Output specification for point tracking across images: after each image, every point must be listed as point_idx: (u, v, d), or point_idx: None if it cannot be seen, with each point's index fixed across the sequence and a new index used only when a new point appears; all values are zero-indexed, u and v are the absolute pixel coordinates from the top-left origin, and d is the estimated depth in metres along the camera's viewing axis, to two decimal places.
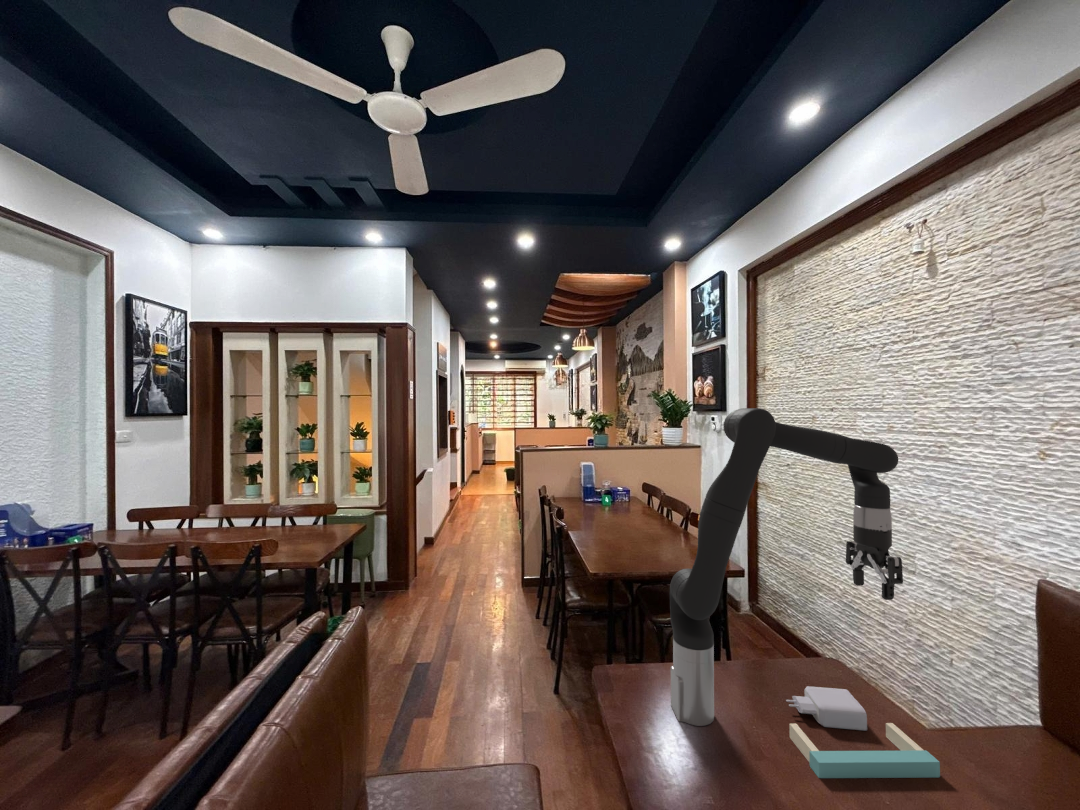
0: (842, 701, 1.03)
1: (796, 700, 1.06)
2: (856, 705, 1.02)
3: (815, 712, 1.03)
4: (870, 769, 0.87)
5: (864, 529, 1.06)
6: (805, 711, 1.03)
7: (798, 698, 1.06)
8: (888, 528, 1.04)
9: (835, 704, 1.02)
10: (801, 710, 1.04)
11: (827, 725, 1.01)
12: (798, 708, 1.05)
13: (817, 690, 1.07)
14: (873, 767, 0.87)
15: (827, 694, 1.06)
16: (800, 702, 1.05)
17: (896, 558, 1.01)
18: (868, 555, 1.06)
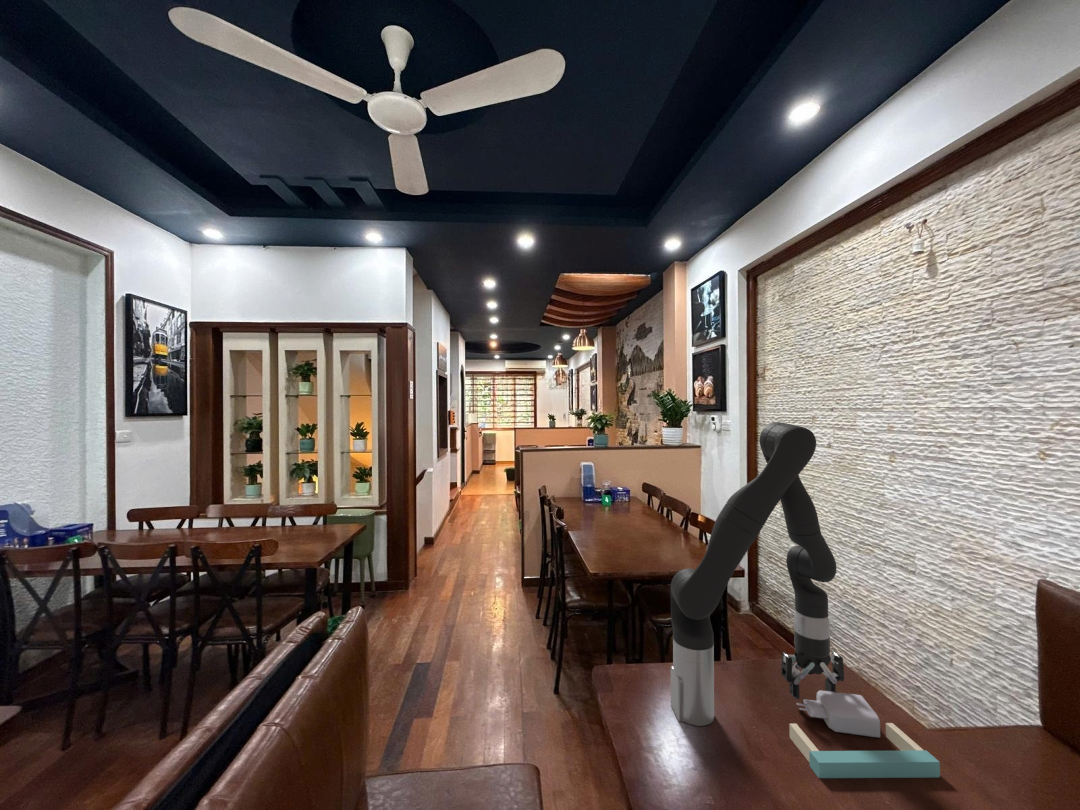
0: (855, 706, 1.01)
1: (807, 704, 1.05)
2: (869, 711, 1.00)
3: (826, 716, 1.01)
4: (870, 769, 0.87)
5: (827, 640, 1.06)
6: (815, 715, 1.02)
7: (809, 702, 1.05)
8: None
9: (847, 710, 1.00)
10: (811, 713, 1.02)
11: (838, 730, 0.99)
12: (809, 712, 1.04)
13: (829, 694, 1.06)
14: (873, 767, 0.87)
15: (839, 698, 1.04)
16: (811, 706, 1.03)
17: (838, 654, 1.09)
18: (821, 663, 1.07)
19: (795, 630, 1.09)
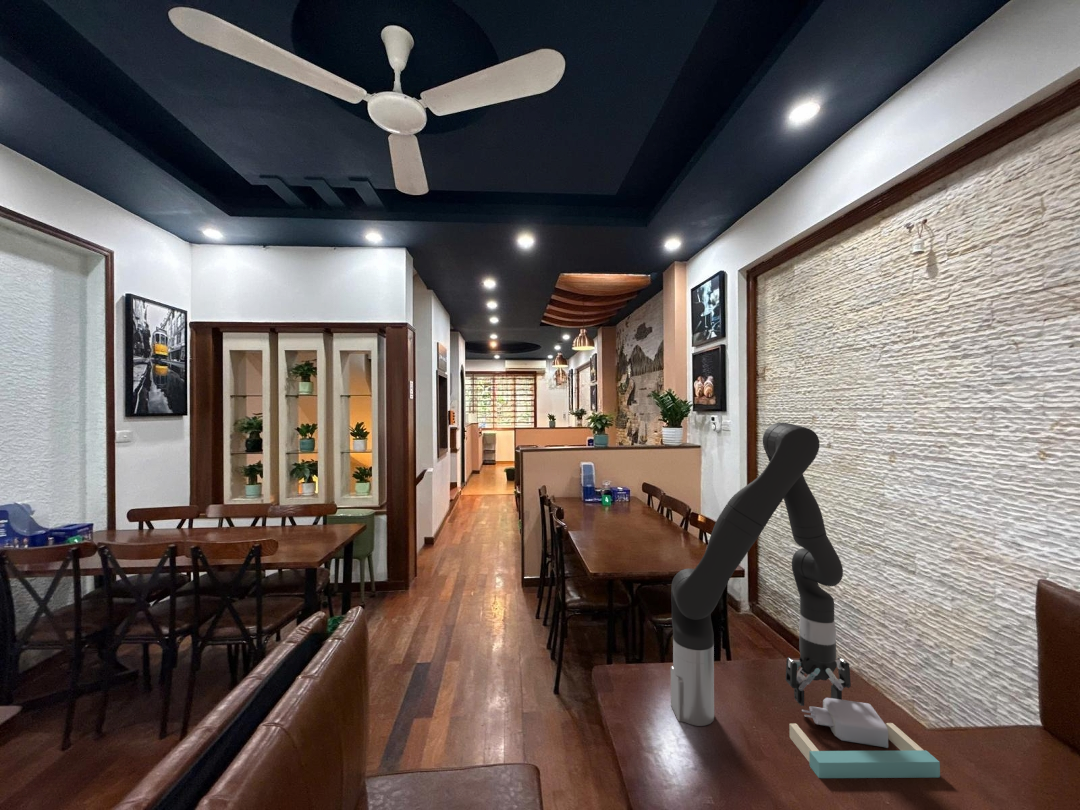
0: (862, 715, 0.99)
1: (812, 711, 1.03)
2: (877, 720, 0.97)
3: (832, 724, 0.99)
4: (870, 769, 0.87)
5: (833, 645, 1.03)
6: (821, 722, 0.99)
7: (815, 709, 1.03)
8: None
9: (853, 718, 0.98)
10: (816, 721, 1.00)
11: (844, 739, 0.97)
12: (814, 719, 1.02)
13: (836, 702, 1.03)
14: (873, 767, 0.87)
15: (847, 706, 1.01)
16: (816, 713, 1.01)
17: (844, 660, 1.07)
18: (827, 669, 1.04)
19: (800, 635, 1.07)
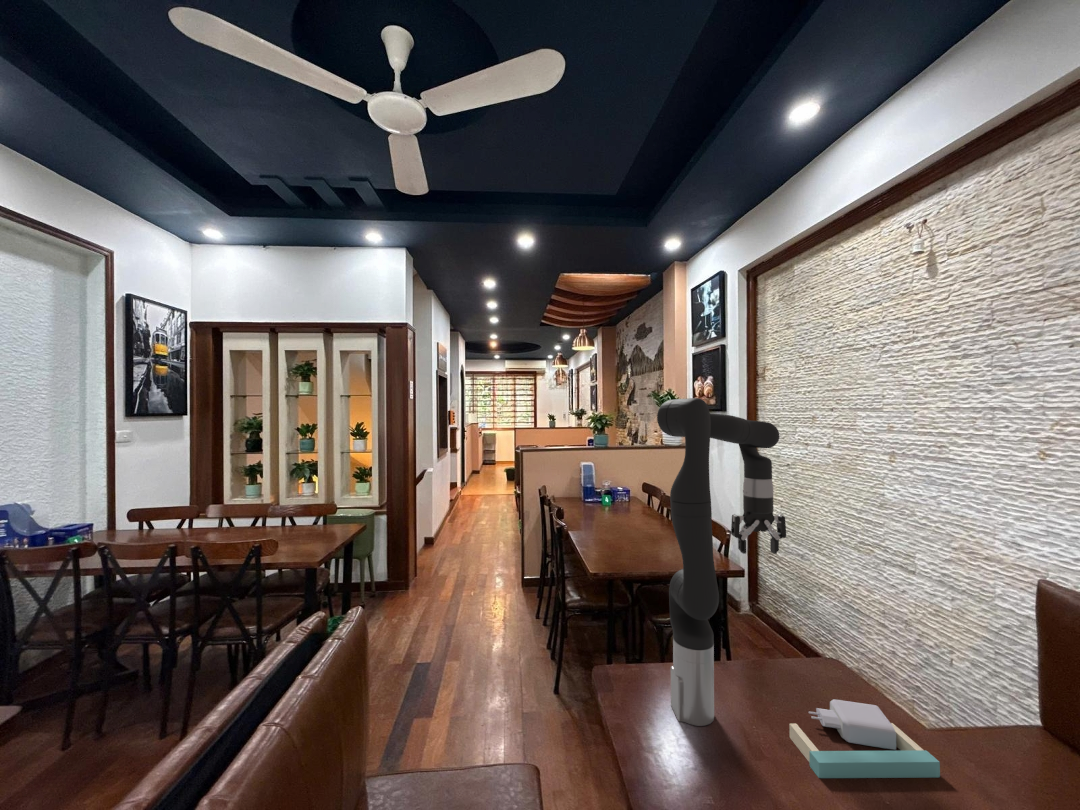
0: (870, 717, 0.98)
1: (819, 712, 1.02)
2: (885, 722, 0.96)
3: (839, 726, 0.98)
4: (870, 769, 0.87)
5: (770, 498, 1.20)
6: (828, 724, 0.99)
7: (822, 711, 1.02)
8: None
9: (861, 720, 0.97)
10: (823, 723, 0.99)
11: (851, 741, 0.96)
12: (821, 721, 1.01)
13: (843, 704, 1.02)
14: (873, 767, 0.87)
15: (854, 708, 1.01)
16: (823, 715, 1.01)
17: None
18: (765, 521, 1.21)
19: (743, 494, 1.24)
